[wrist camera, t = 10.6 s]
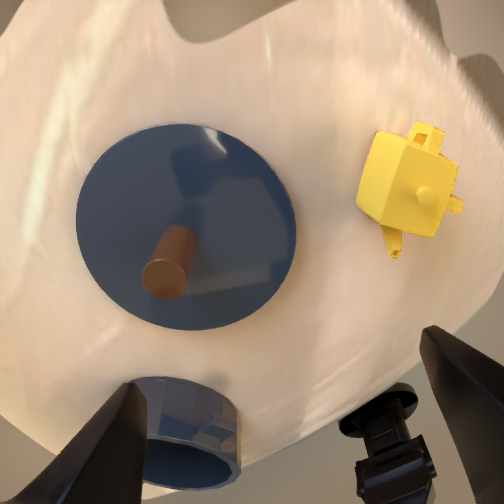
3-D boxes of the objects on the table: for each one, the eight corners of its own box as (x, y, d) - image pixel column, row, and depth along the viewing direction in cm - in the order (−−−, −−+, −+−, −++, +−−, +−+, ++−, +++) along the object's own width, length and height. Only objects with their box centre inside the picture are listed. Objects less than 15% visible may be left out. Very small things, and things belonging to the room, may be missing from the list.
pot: (284, 400, 29) (290, 456, 23) (187, 460, 36) (183, 501, 30) (159, 338, 25) (143, 401, 19) (93, 420, 32) (79, 462, 26)
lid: (339, 216, 21) (367, 257, 16) (210, 348, 26) (205, 402, 21) (153, 76, 16) (118, 70, 11) (56, 252, 21) (18, 293, 16)
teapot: (409, 240, 21) (444, 277, 17) (340, 223, 21) (365, 261, 16) (445, 136, 18) (492, 153, 13) (374, 107, 17) (415, 113, 13)
